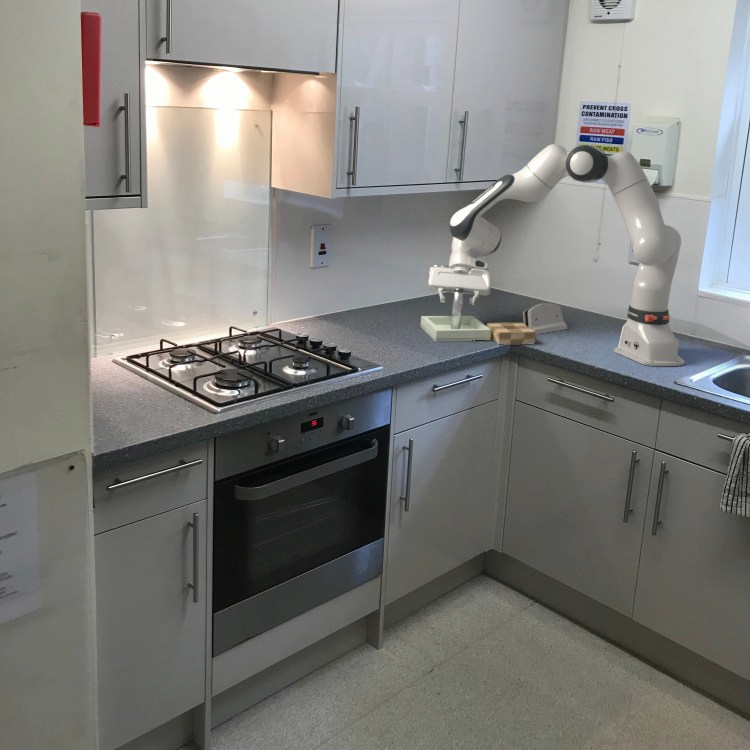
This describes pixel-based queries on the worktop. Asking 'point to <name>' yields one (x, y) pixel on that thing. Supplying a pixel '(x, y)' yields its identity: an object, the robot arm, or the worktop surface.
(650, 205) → the robot arm
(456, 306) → the steel pin
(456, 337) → the sage tray
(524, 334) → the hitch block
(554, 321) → the grey slotted holder
